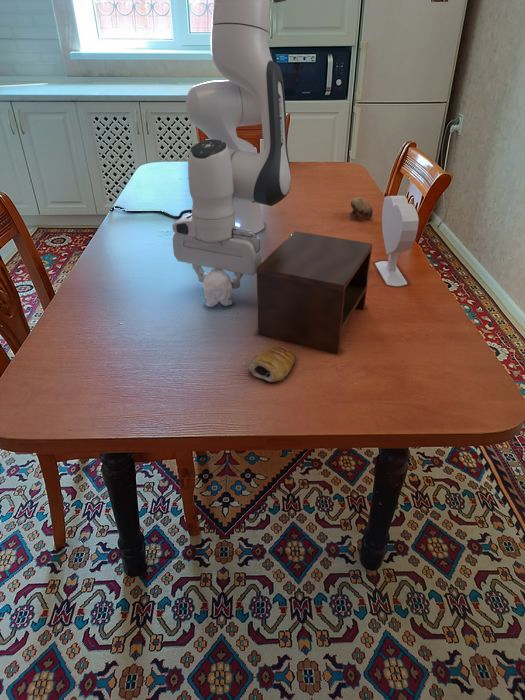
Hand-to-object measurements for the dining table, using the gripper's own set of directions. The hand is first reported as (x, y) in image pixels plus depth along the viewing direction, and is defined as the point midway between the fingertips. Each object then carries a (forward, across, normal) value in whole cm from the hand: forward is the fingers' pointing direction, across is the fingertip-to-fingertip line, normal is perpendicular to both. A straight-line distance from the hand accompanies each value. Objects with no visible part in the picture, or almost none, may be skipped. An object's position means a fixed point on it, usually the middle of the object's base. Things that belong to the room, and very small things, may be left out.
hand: (219, 284), depth 110 cm
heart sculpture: (+4, -33, -28) cm, 43 cm away
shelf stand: (+4, -23, 0) cm, 23 cm away
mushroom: (+4, -16, -61) cm, 63 cm away
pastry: (+4, -22, +19) cm, 29 cm away
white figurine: (+4, 0, 0) cm, 4 cm away
